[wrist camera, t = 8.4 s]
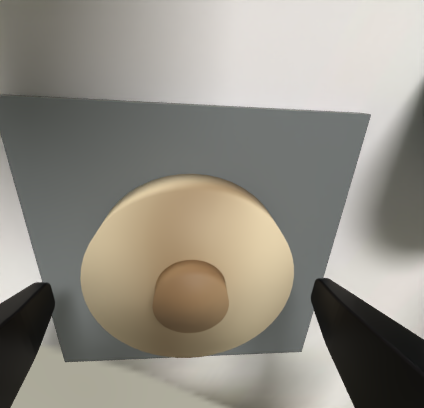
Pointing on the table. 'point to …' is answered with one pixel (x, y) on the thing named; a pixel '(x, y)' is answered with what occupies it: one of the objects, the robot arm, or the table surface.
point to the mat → (166, 166)
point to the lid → (187, 267)
